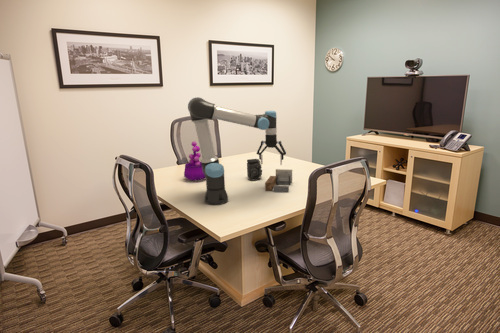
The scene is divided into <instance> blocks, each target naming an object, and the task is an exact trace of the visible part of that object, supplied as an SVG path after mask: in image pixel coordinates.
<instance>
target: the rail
mask: <svg viewBox="0 0 500 333" xmlns="http://www.w3.org/2000/svg"><path fill="white" fill-rule="evenodd" d="M274 186H277V185H276V175H270V176H269V177H268V179H267V180H266V181H265V182H264V188H265V192H272V191H274V189H273V187H274Z"/></svg>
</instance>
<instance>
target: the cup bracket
mask: <svg viewBox="0 0 500 333" xmlns="http://www.w3.org/2000/svg"><path fill="white" fill-rule="evenodd" d="M275 176H276V185H275V186H291V184H293V169H283V168H282V169H281V168H279V169H278V168H276V169H275Z"/></svg>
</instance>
